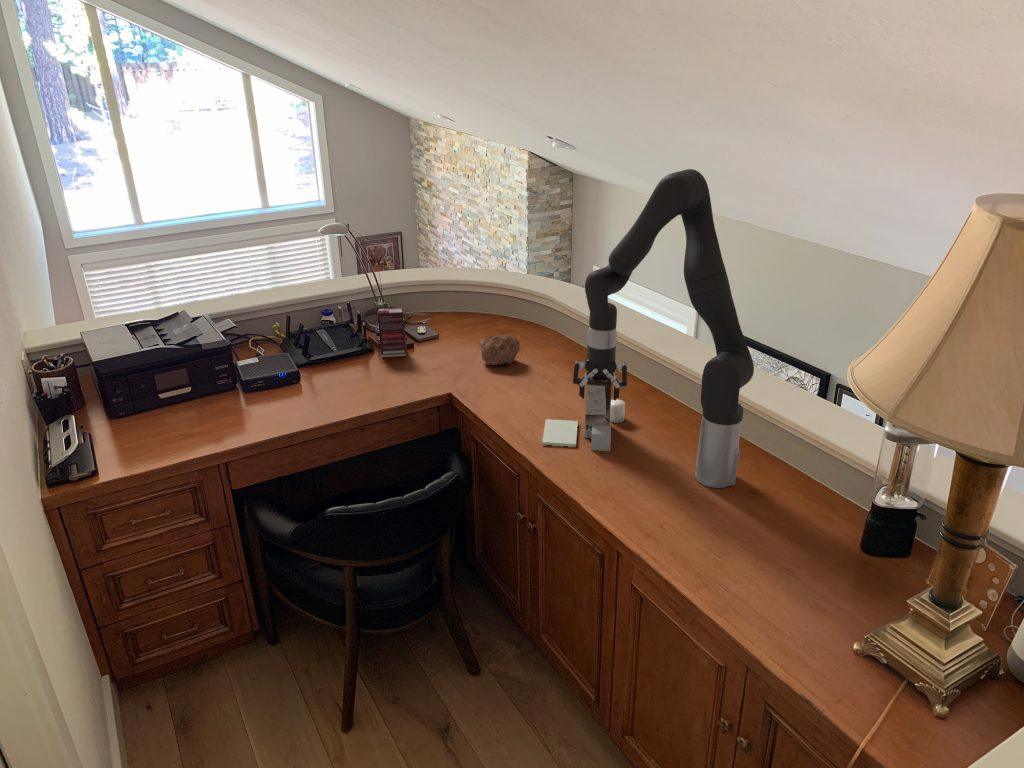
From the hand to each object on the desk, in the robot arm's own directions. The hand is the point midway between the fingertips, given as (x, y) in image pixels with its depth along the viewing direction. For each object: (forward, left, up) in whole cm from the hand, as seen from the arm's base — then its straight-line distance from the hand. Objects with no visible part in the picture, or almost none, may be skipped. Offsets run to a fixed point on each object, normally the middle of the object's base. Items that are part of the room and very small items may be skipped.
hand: (598, 398), depth 203 cm
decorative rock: (+33, -44, -10) cm, 56 cm away
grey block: (-1, +8, -10) cm, 13 cm away
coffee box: (0, 0, -10) cm, 10 cm away
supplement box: (+70, -47, -10) cm, 85 cm away
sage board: (+10, +3, -10) cm, 15 cm away
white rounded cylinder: (-5, -8, -10) cm, 14 cm away
